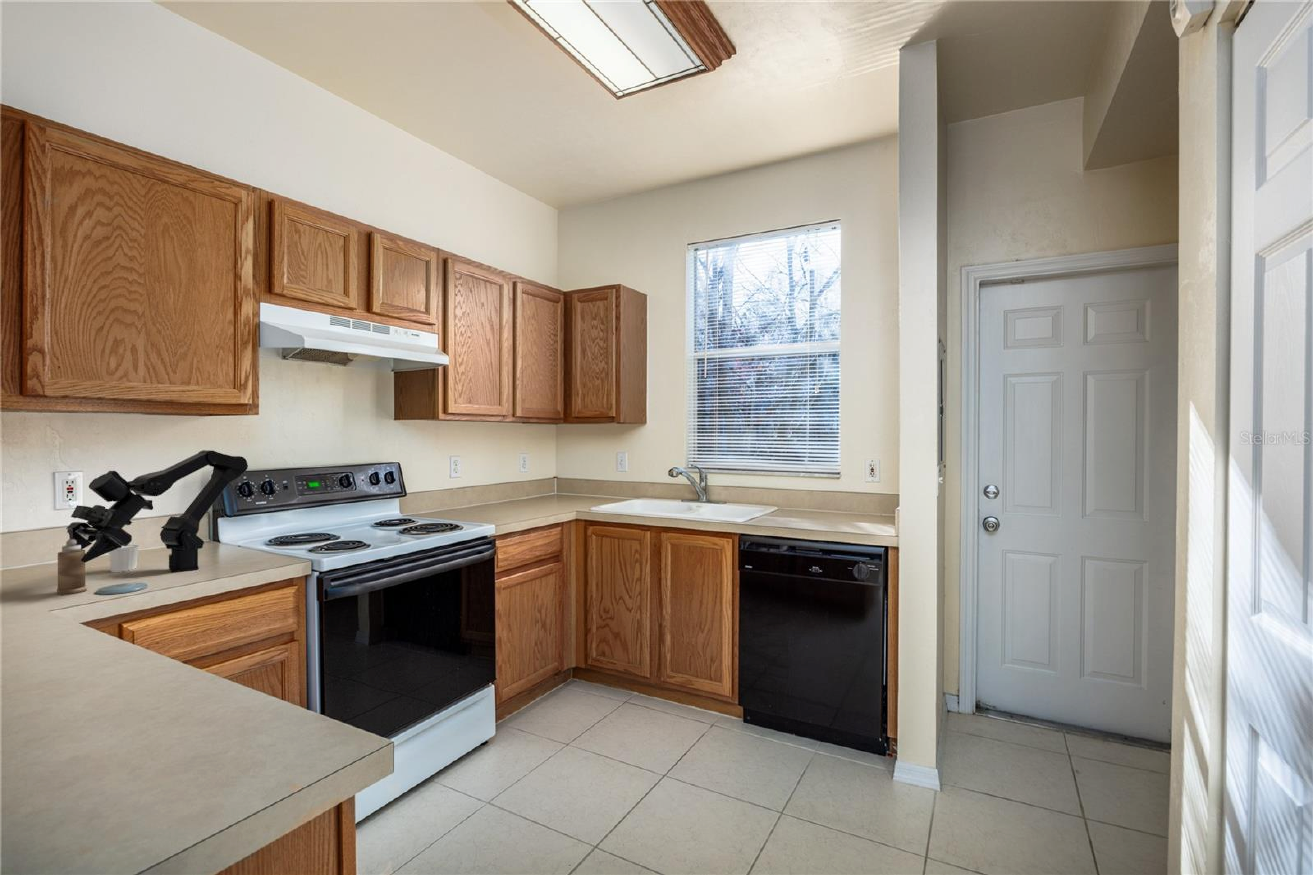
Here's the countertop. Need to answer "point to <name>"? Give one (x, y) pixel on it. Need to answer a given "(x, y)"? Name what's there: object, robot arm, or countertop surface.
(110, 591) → the trivet
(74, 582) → the pepper mill
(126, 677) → the countertop surface
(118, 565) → the white faceted cup
